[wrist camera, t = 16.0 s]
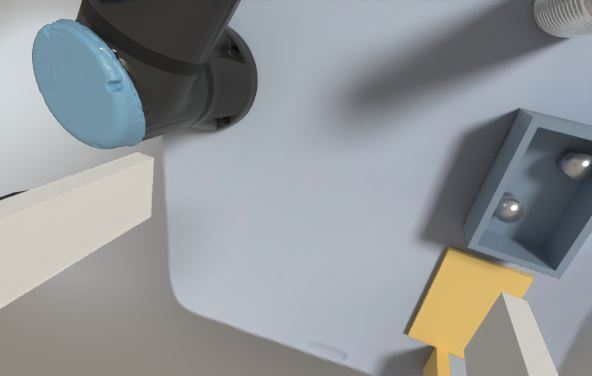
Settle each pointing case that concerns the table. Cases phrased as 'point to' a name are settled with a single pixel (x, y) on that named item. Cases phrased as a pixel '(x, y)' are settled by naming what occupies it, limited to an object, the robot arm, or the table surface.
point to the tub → (534, 196)
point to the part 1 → (509, 209)
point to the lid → (461, 304)
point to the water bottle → (564, 17)
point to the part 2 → (575, 164)
